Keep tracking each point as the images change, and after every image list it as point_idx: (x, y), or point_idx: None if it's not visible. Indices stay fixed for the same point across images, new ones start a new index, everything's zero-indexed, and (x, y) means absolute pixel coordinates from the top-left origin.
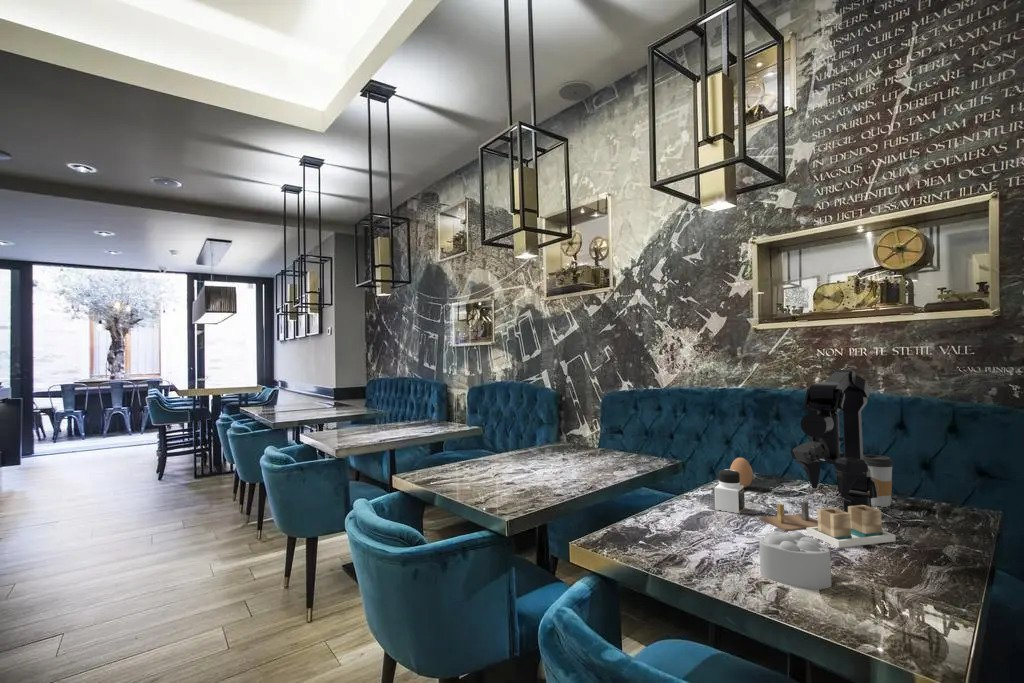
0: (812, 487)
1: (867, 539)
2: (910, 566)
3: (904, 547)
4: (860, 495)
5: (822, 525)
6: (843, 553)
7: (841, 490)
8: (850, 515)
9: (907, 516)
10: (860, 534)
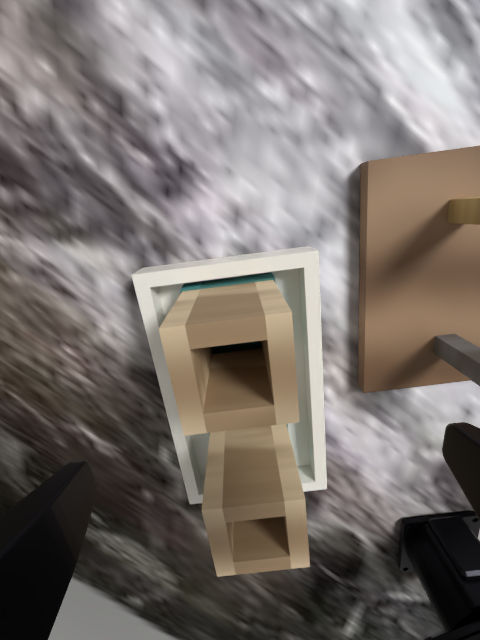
0: (462, 423)
1: (166, 404)
2: (4, 395)
3: (161, 480)
4: (465, 629)
5: (248, 292)
6: (108, 261)
7: (2, 525)
8: (283, 464)
9: (382, 626)
10: None
